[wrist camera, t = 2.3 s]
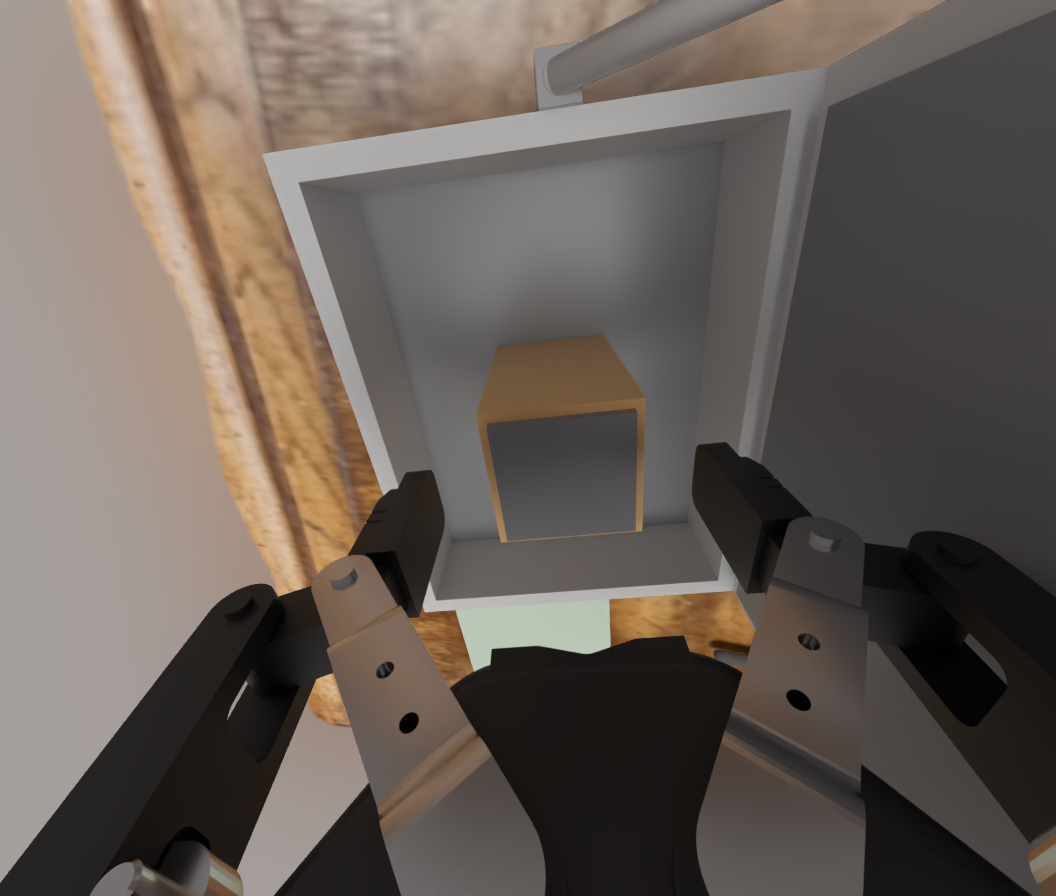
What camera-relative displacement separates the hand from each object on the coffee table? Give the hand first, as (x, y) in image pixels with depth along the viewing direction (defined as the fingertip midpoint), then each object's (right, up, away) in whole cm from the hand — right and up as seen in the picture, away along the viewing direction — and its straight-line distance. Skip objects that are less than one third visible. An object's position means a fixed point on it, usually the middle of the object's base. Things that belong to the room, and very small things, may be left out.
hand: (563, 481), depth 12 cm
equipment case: (+1, +5, +8) cm, 10 cm away
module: (0, +4, +8) cm, 9 cm away
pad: (0, -13, +18) cm, 23 cm away
